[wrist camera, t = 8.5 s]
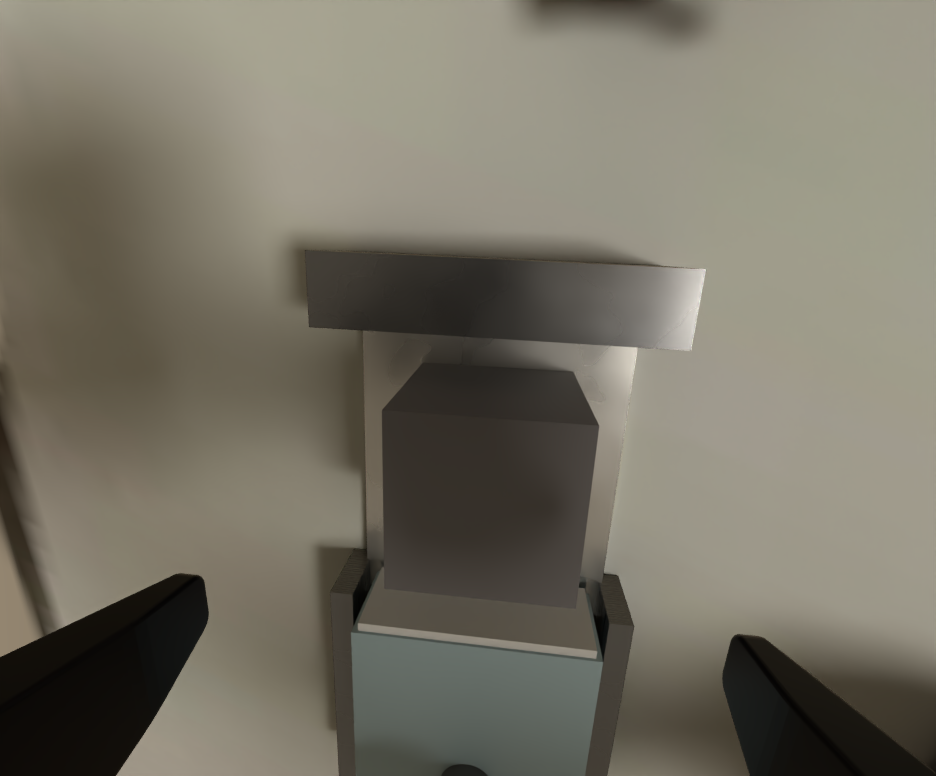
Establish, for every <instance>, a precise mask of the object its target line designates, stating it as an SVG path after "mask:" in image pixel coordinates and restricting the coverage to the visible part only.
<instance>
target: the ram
mask: <svg viewBox="0 0 936 776" xmlns="http://www.w3.org/2000/svg"><path fill="white" fill-rule="evenodd" d="M351 647H352V677H353V707H354V736H355V766H356V776H585V772H586V766H587V760H588V753H589V747H590V741H591V735H592V729H593V722H594V716H595V710H596V704H597V698H598V692H599V685H600V679H601V673H602V667H603V659H602V654H601V650H600V645H599V640H598V635H597V631H596V626H595V621H594V617H593V612H592V607H591V603H590V598H589V594H586V593H585V588H579V589H578V597H577V605H576V609H571V608H562V607H552V606H543V605H533V604H524V603H514V602H505V601H495V600H486V599H476V598H467V597H457V596H448V595H438V594H429V593H419V592H410V591H400V590H391V589H384V567H382V568H381V570H380V571H378V572H377V574H376V576H375V579H374V581H373V583H372V586H371V588H370V590H369V592H368V595H367V597H366V599H365V602H364V604H363V606H362V608H361V611H360V613H359V615H358V618H357V620H356V622H355V624H354V627H353V629H352V631H351Z"/></svg>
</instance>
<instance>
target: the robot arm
mask: <svg viewBox="0 0 936 776" xmlns="http://www.w3.org/2000/svg"><path fill="white" fill-rule="evenodd" d="M208 615H209V611H208V604H207V597H206V590H205V583H204V580H203V578H202V577H201V576H199V575H193V574H183V573H180V574H175V575H173V576H171V577H168V578H166V579H164V580H162V581H160V582H158V583H156V584H154V585H152V586H149V587H147V588H145V589H143V590H141V591H139V592H137V593H135V594H133V595H130V596H128V597H126V598H124V599H122V600H120V601H118V602H116V603H114V604H111V605H109V606H107V607H105V608H103V609H101V610H99V611H97V612H95V613H92V614H90V615H88V616H86V617H84V618H82V619H80V620H78V621H76V622H73V623H71V624H69V625H67V626H65V627H63V628H61V629H59V630H57V631H54V632H52V633H50V634H48V635H46V636H44V637H42V638H40V639H38V640H35V641H33V642H31V643H29V644H27V645H25V646H23V647H21V648H19V649H17V650H15V651H12V652H10V653H8V654H6V655H4V656H2V657H0V776H116V775H117V773H118V772H119V770H120V769H121V767H122V766H123V764H124V763H125V761H126V760H127V759H128V757H129V756H130V754H131V753H132V751H133V750H134V748H135V747H136V745H137V744H138V742H139V741H140V739H141V738H142V736H143V735H144V733H145V732H146V730H147V728H148V727H149V725H150V724H151V722H152V721H153V719H154V717H155V716H156V714H157V712H158V711H159V709H160V707H161V706H162V704H163V702H164V701H165V699H166V697H167V695H168V693H169V692H170V690H171V688H172V686H173V684H174V683H175V681H176V679H177V677H178V676H179V674H180V672H181V670H182V668H183V667H184V665H185V663H186V661H187V660H188V658H189V656H190V654H191V652H192V651H193V649H194V647H195V645H196V643H197V642H198V640H199V638H200V636H201V635H202V633H203V631H204V629H205V627H206V624H207V621H208ZM722 680H723V688H724V692H725V695H726V698H727V702H728V705H729V708H730V711H731V715H732V718H733V721H734V725H735V728H736V731H737V735H738V738H739V741H740V744H741V748H742V751H743V754H744V758H745V761H746V764H747V767H748V771H749V774H750V776H936V773H935V772H934V771H933V770H932V769H930V768H929V767H928V766H927V765H925V764H924V763H923V762H921V761H920V760H919V759H918V758H916V757H915V756H914V755H913V754H911V753H910V752H909V751H907V750H906V749H905V748H904V747H902V746H901V745H900V744H899V743H897V742H896V741H895V740H893V739H892V738H891V737H890V736H888V735H887V734H886V733H885V732H883V731H882V730H881V729H879V728H878V727H877V726H876V725H874V724H873V723H872V722H871V721H869V720H868V719H867V718H865V717H864V716H863V715H862V714H860V713H859V712H858V711H857V710H855V709H854V708H853V707H851V706H850V705H849V704H848V703H846V702H845V701H844V700H843V699H841V698H840V697H839V696H837V695H836V694H835V693H834V692H832V691H831V690H830V689H829V688H827V687H826V686H825V685H823V684H822V683H821V682H820V681H818V680H817V679H816V678H815V677H813V676H812V675H811V674H809V673H808V672H807V671H806V670H804V669H803V668H802V667H801V666H799V665H798V664H797V663H795V662H794V661H793V660H792V659H790V658H789V657H788V656H787V655H785V654H784V653H783V652H781V651H780V650H779V649H778V648H776V647H775V646H774V645H773V644H771V643H770V642H769V641H767V640H766V639H764V638H762V637H759V636H752V635H743V634H737V635H735V636H734V637H733V638H732V640H731V642H730V646H729V650H728V654H727V658H726V662H725V666H724V670H723V677H722Z"/></svg>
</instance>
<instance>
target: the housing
mask: <svg viewBox="0 0 936 776" xmlns="http://www.w3.org/2000/svg"><path fill="white" fill-rule="evenodd" d="M598 433H599V424H598V422H597V420H596V418H595V416H594V414H593V412H592V409H591V407H590V405H589V403H588V401H587V399H586V397H585V395H584V393H583V391H582V389H581V387H580V385H579V383H578V381H577V379H576V376H575V374H574V372H570V371H554V370H538V369H522V368H506V367H490V366H473V365H457V364H441V363H425V362H423V363H422V364H421V365H420V367H419V368H418V369H417V370H416V371H415V372H414V374H413V375H412V376H411V377H410V378H409V379H408V380H407V382H406V383H405V384H404V385H403V386H402V387H401V389H400V390H399V391H398V392H397V393H396V394H395V395H394V397H393V398H392V399H391V400H390V401H389V402H388V404H387V405H386V406H385V407H384V408H383V409H382V465H383V534H384V589H391V590H400V591H410V592H419V593H429V594H438V595H448V596H457V597H467V598H476V599H486V600H495V601H505V602H514V603H524V604H533V605H543V606H552V607H562V608H571V609H576V605H577V597H578V589H579V581H580V574H581V566H582V558H583V550H584V542H585V535H586V527H587V519H588V511H589V503H590V496H591V488H592V480H593V472H594V464H595V456H596V449H597V441H598Z"/></svg>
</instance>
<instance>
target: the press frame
mask: <svg viewBox="0 0 936 776" xmlns="http://www.w3.org/2000/svg"><path fill="white" fill-rule="evenodd" d="M305 259H306V278H307V297H308V315H309V327H315V328H332V329H348V330H363V364H364V414H365V464H366V515H367V550H361V549H354V550H353V552H352V554H351V556H350V557H349V559H348V561H347V563H346V565H345V566H344V568H343V570H342V572H341V574H340V576H339V577H338V579H337V581H336V583H335V585H334V586H333V588H332V590H331V592H330V598H331V619H332V640H333V661H334V682H335V703H336V723H337V744H338V765H339V776H356V766H355V736H354V707H353V677H352V647H351V631H352V629H353V627H354V624H355V622H356V620H357V618H358V615H359V613H360V611H361V608H362V606H363V604H364V602H365V599H366V597H367V595H368V592H369V590H370V588H371V586H372V583H373V581H374V579H375V576H376V574H377V572H378V571H380V570H381V568H382V567H384V534H383V465H382V409H383V408H384V407H385V406H386V405H387V404H388V402H389V401H390V400H391V399H392V398H393V397H394V395H395V394H396V393H397V392H398V391H399V390H400V389H401V387H402V386H403V385H404V384H405V383H406V382H407V380H408V379H409V378H410V377H411V376H412V375H413V374H414V372H415V371H416V370H417V369H418V368H419V367H420V365H421V364H422V363H423V362H425V363H441V364H457V365H473V366H490V367H506V368H522V369H538V370H554V371H570V372H574V374H575V376H576V379H577V381H578V383H579V385H580V387H581V389H582V391H583V393H584V395H585V397H586V399H587V401H588V403H589V405H590V407H591V409H592V412H593V414H594V416H595V418H596V420H597V422H598V424H599V433H598V441H597V449H596V456H595V464H594V472H593V480H592V488H591V496H590V503H589V511H588V519H587V527H586V535H585V542H584V550H583V558H582V566H581V574H580V581H579V588H585V593H586V594H589V598H590V603H591V607H592V612H593V617H594V621H595V626H596V631H597V635H598V640H599V645H600V650H601V654H602V659H603V667H602V673H601V679H600V685H599V692H598V698H597V704H596V710H595V716H594V722H593V729H592V735H591V741H590V747H589V753H588V760H587V766H586V772H585V776H607V774H608V768H609V763H610V757H611V752H612V746H613V741H614V735H615V730H616V724H617V719H618V713H619V708H620V702H621V697H622V691H623V686H624V680H625V674H626V669H627V663H628V658H629V652H630V647H631V641H632V636H633V630H634V624H633V621H632V618H631V615H630V612H629V608H628V605H627V602H626V599H625V596H624V593H623V589H622V586H621V583H620V580H619V577H618V576H613V575H603V573H604V566H605V560H606V553H607V546H608V540H609V533H610V527H611V520H612V513H613V507H614V500H615V494H616V487H617V480H618V474H619V467H620V461H621V454H622V447H623V441H624V434H625V428H626V421H627V414H628V408H629V401H630V395H631V388H632V381H633V375H634V368H635V362H636V355H637V348H653V349H669V350H685V351H691V348H692V342H693V337H694V332H695V326H696V321H697V315H698V310H699V305H700V299H701V294H702V288H703V283H704V278H705V272H706V269H696V268H683V267H670V266H654V265H633V264H612V263H591V262H570V261H549V260H528V259H507V258H486V257H465V256H444V255H423V254H402V253H381V252H360V251H323V250H305Z"/></svg>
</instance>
